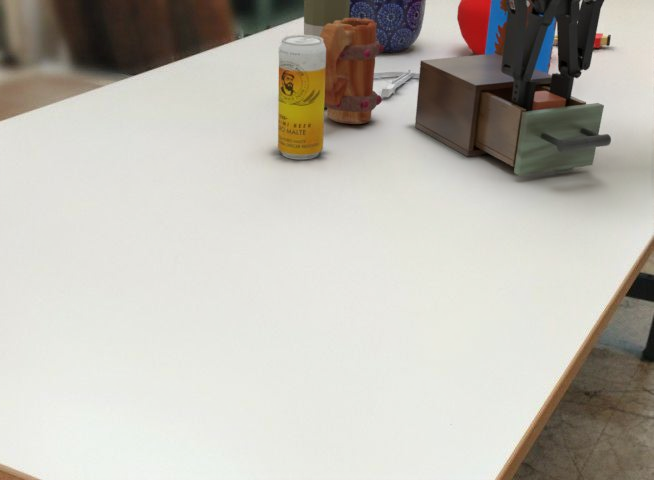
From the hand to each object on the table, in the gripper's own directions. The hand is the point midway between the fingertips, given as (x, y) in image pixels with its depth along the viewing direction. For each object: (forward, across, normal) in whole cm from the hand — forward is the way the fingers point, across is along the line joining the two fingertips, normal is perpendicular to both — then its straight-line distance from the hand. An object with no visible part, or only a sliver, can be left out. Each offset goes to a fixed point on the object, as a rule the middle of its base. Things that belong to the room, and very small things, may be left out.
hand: (536, 128), depth 122 cm
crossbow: (+5, -2, -41) cm, 41 cm away
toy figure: (+5, -51, -57) cm, 77 cm away
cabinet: (+5, 0, -13) cm, 14 cm away
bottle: (+5, +14, -36) cm, 39 cm away
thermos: (+5, -21, -35) cm, 41 cm away
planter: (+5, -13, -69) cm, 70 cm away
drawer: (+4, 0, +1) cm, 4 cm away
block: (0, 0, 0) cm, 0 cm away
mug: (+5, +16, -25) cm, 30 cm away
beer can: (+5, +27, -15) cm, 31 cm away
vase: (+5, -32, -55) cm, 64 cm away
